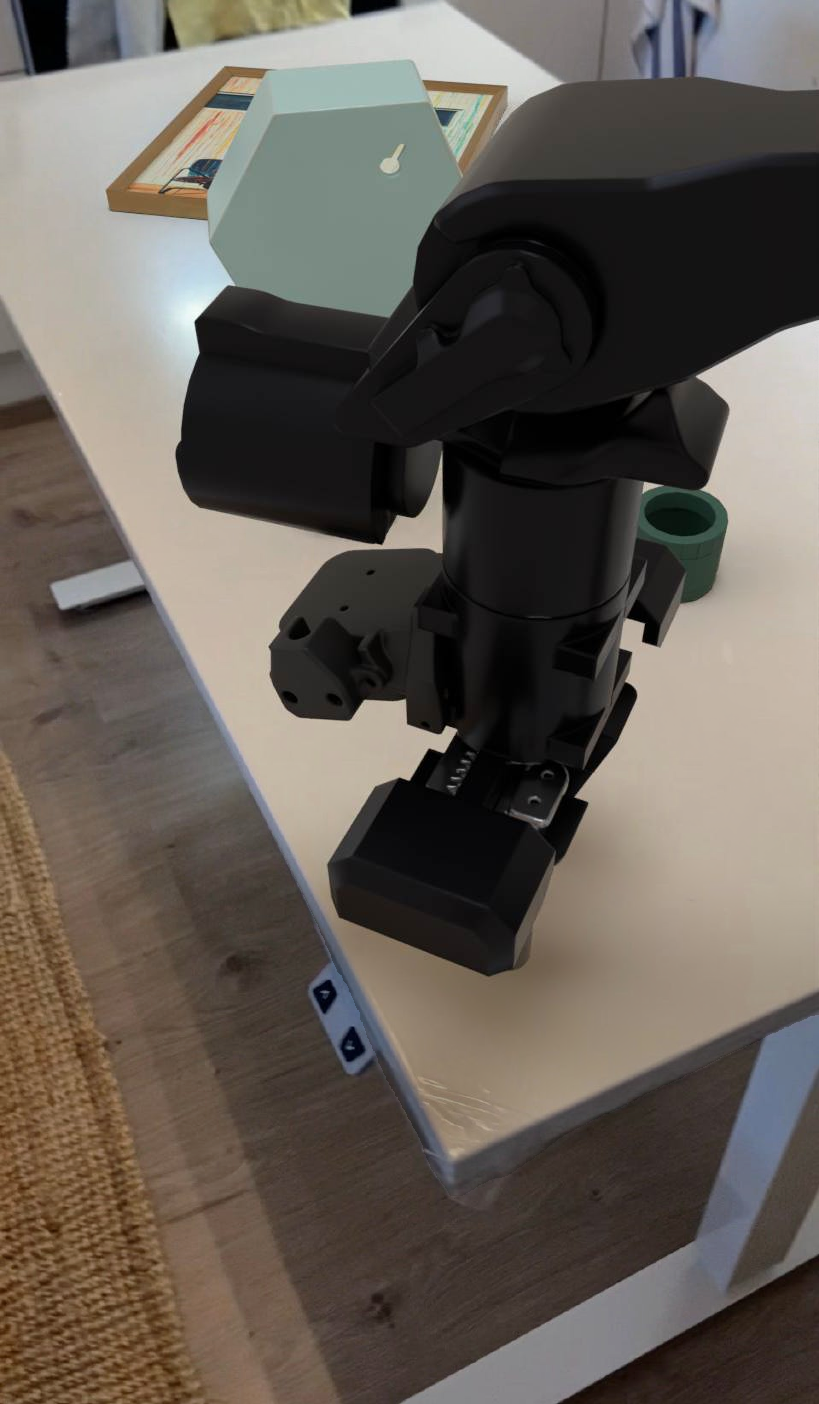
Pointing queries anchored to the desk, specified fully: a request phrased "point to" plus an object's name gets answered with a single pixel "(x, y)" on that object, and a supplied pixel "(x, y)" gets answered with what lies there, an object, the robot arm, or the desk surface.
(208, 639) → the desk surface
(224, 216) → the mint green hexagonal prism
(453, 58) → the desk surface
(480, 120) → the picture frame
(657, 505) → the green round lever base
